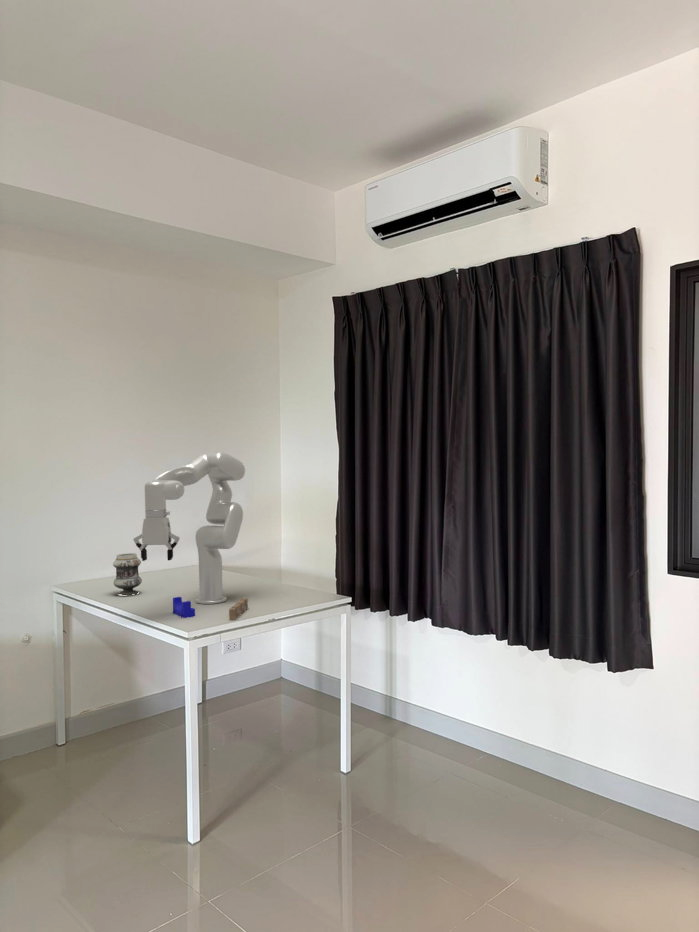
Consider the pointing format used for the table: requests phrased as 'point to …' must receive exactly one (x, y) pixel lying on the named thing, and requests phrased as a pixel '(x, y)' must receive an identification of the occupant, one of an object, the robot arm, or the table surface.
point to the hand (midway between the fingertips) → (157, 560)
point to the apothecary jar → (127, 573)
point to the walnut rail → (238, 608)
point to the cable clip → (182, 608)
